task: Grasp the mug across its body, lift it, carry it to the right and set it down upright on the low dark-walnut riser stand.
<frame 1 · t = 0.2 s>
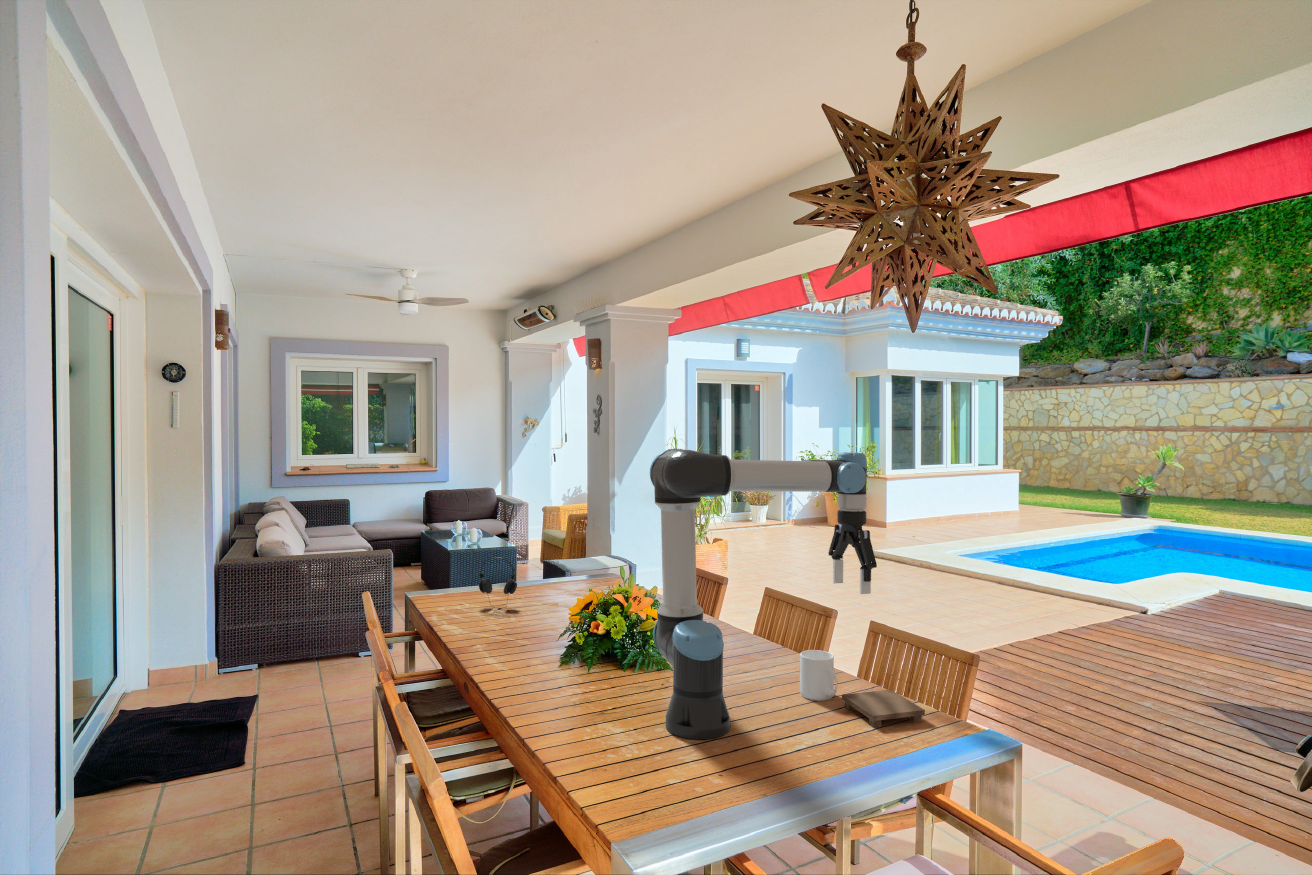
hand: (851, 588, 192), 27 cm above the table, fingers open, 13 cm apart
mug: (820, 698, 186), on the table
headphones: (495, 610, 277), on the table
stand: (882, 714, 175), on the table
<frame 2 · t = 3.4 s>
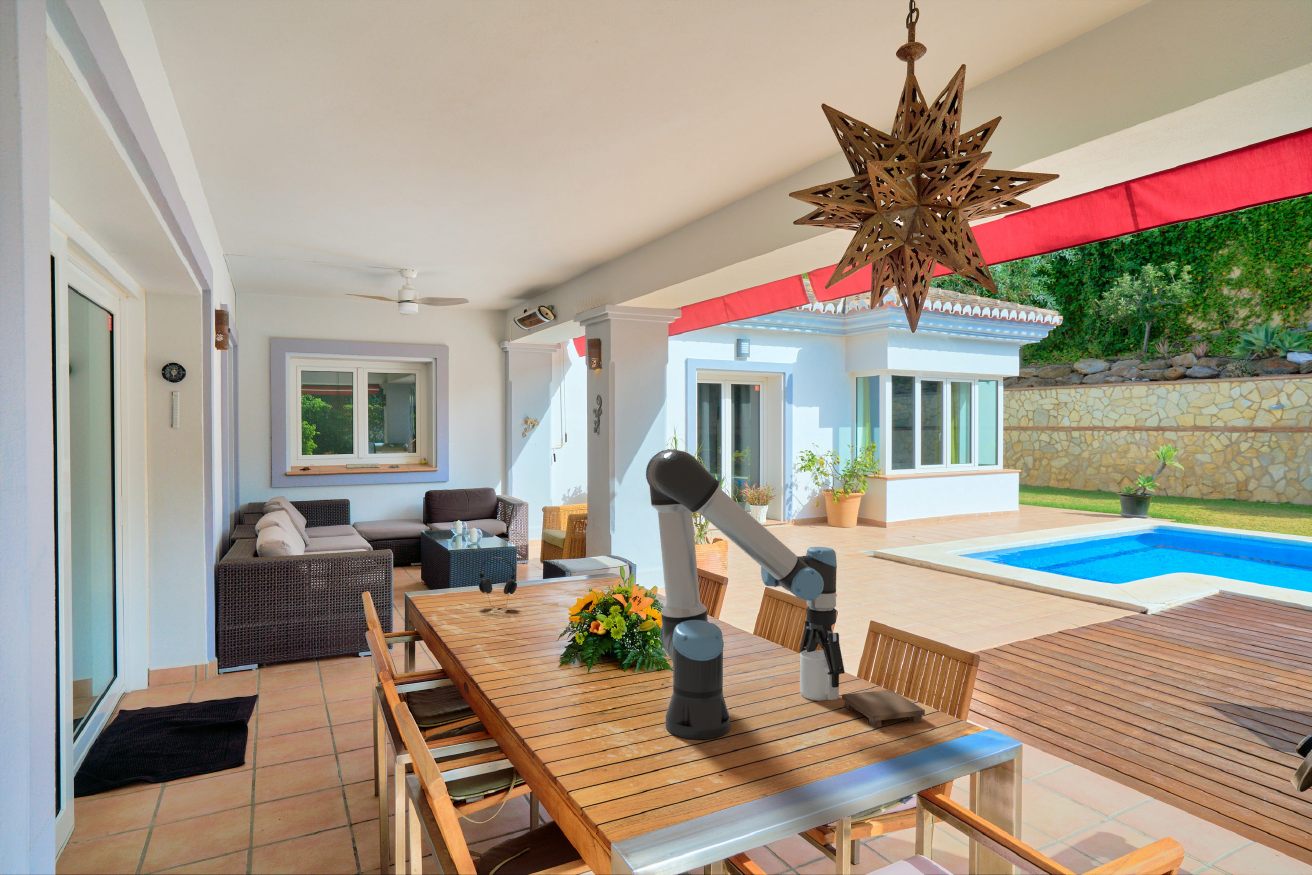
hand: (821, 690, 186), 2 cm above the table, fingers closed on mug, 12 cm apart
mug: (821, 698, 186), on the table, touching gripper
everything else where it was.
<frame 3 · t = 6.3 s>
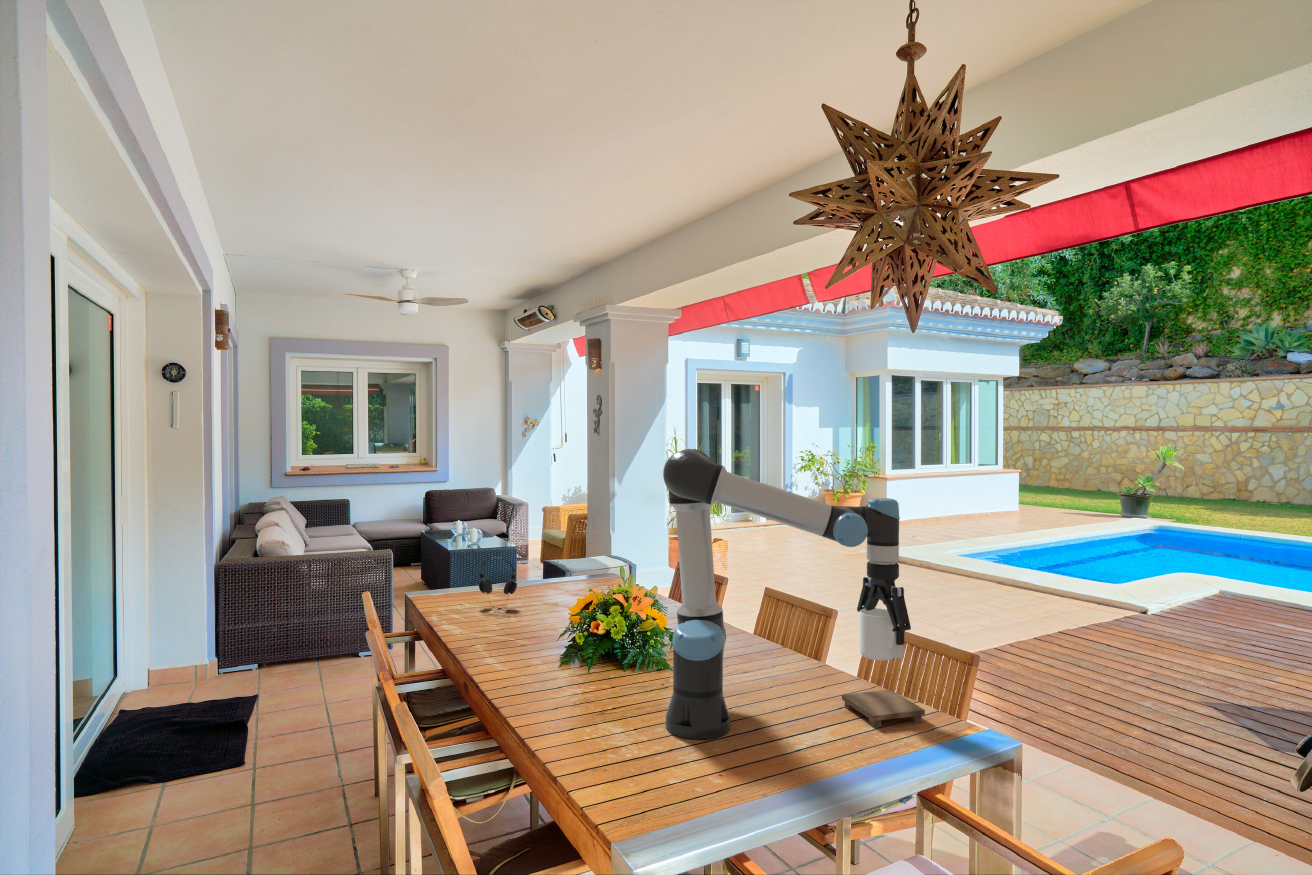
hand: (882, 649, 175), 16 cm above the table, fingers closed on mug, 12 cm apart
mug: (882, 658, 175), point 14 cm above the table, touching gripper
everything else where it was.
when the fingers open (6 cm above the table, at t = 9.1 s): mug stays where it is, resting on stand.
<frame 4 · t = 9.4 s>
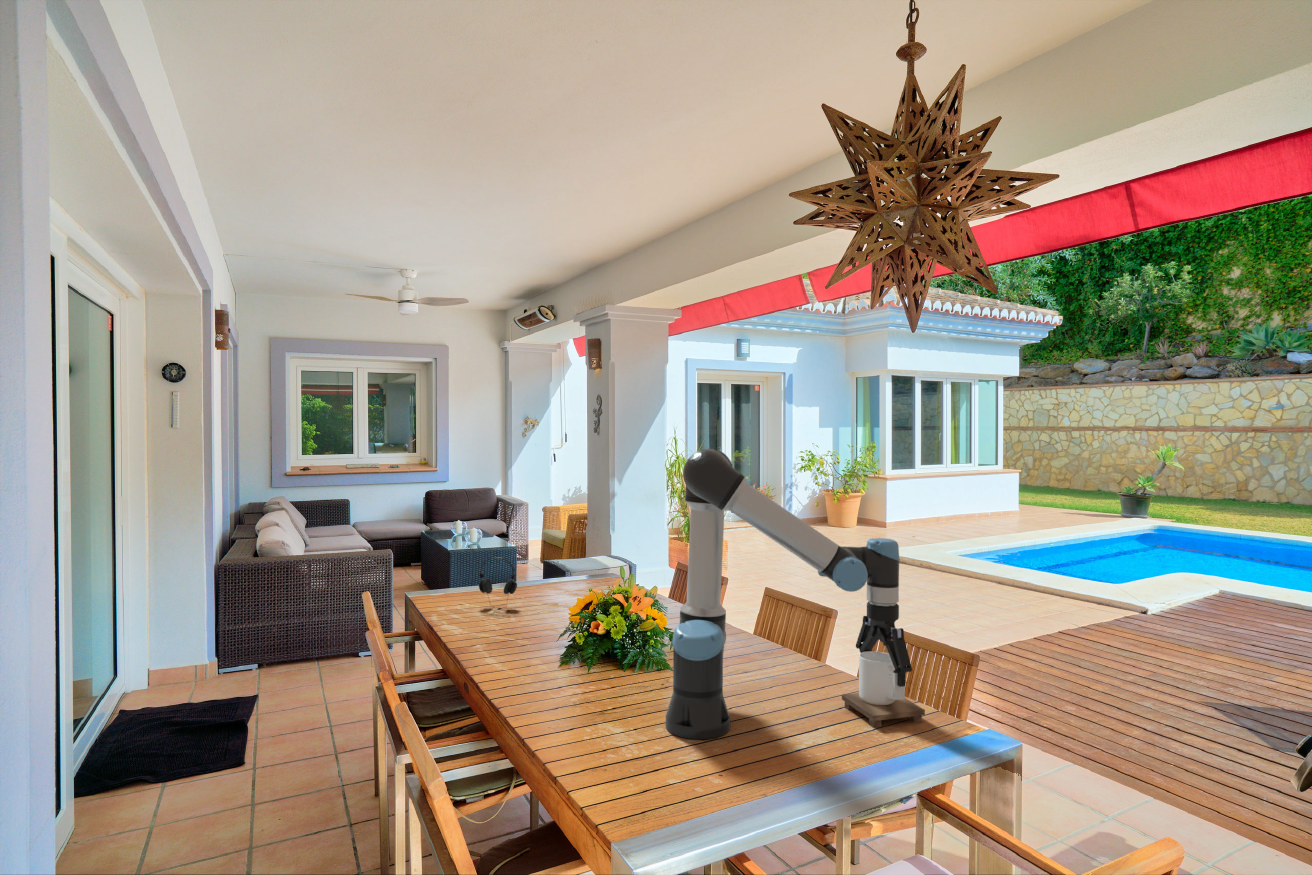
hand: (882, 688, 175), 6 cm above the table, fingers open, 13 cm apart
mug: (882, 702, 175), point 3 cm above the table, touching stand
everything else where it was.
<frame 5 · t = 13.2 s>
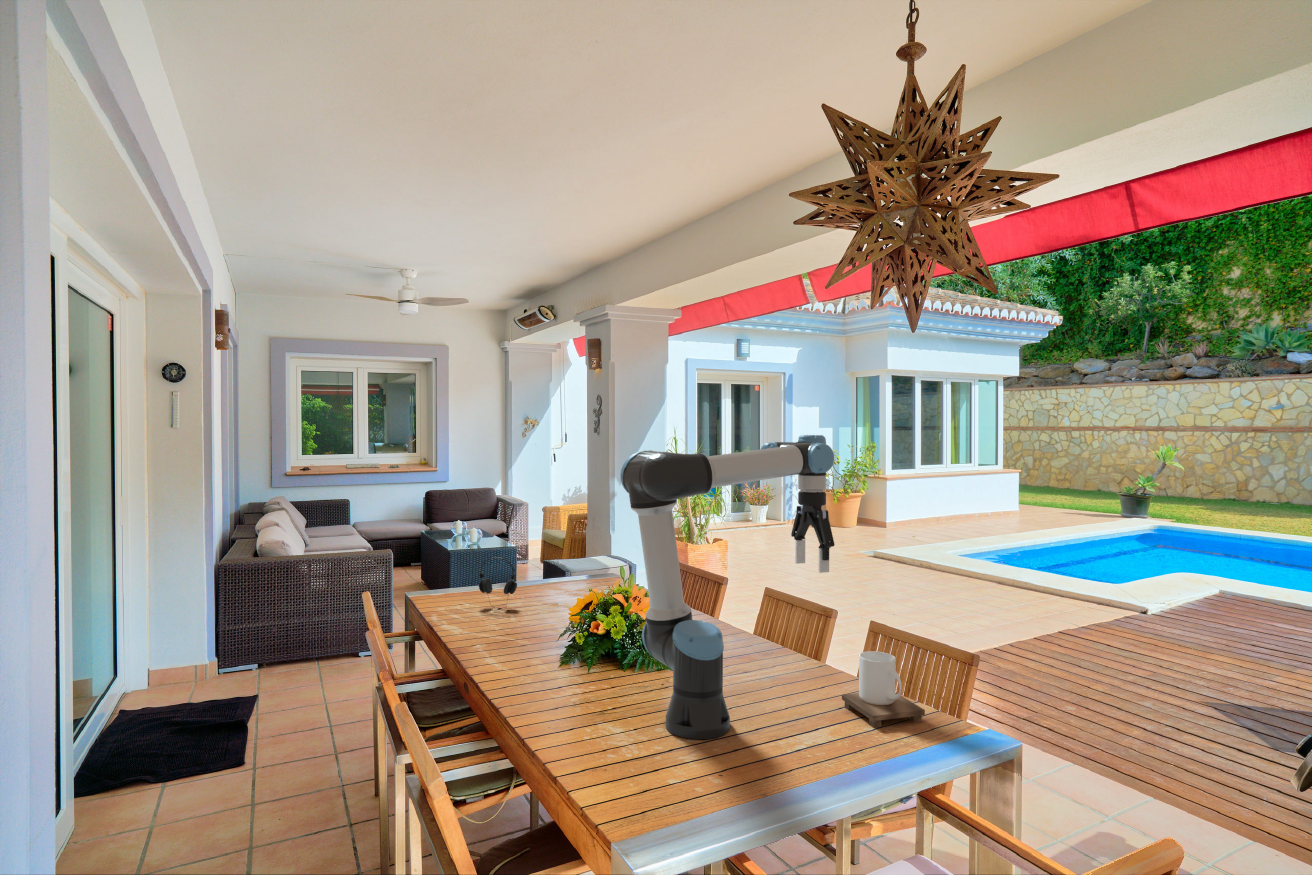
hand: (811, 567, 197), 32 cm above the table, fingers open, 13 cm apart
nothing on the table moved.
at the end: mug inside the target area on the stand (0.1 cm from its centre), point 2.8 cm above the stand's base; mug tilted 0°; the gripper is holding nothing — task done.
